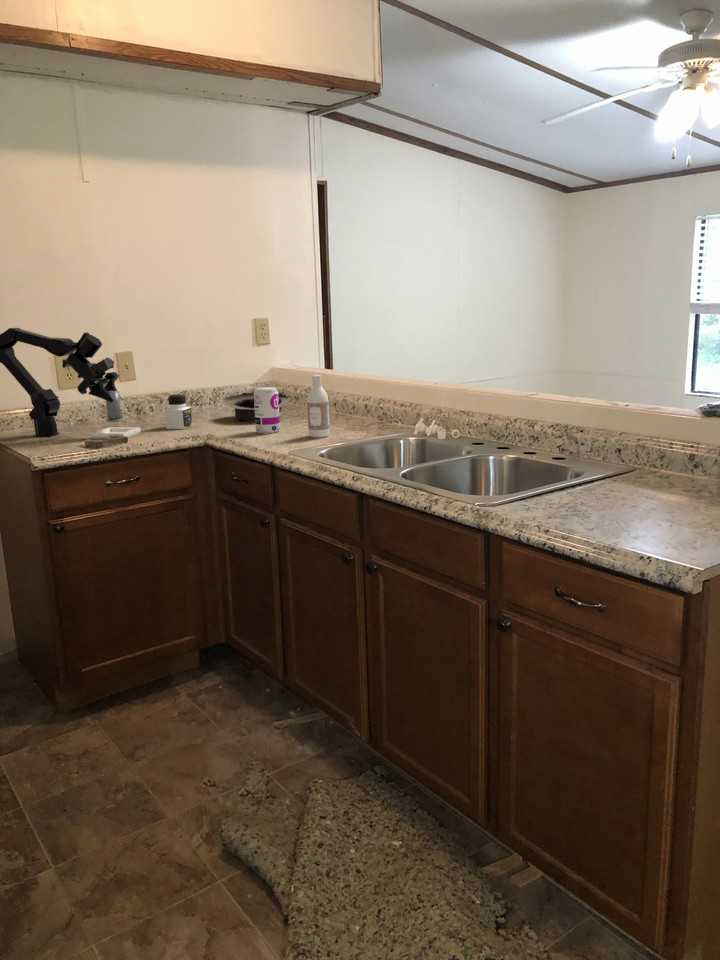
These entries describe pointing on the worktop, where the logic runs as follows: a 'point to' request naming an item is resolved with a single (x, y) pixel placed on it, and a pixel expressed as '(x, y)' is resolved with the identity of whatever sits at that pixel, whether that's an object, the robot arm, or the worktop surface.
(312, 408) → the bath foam
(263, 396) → the supplement can
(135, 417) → the worktop surface
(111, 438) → the socket
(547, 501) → the worktop surface
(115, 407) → the grey rounded upright piece
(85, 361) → the robot arm
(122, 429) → the dish
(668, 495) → the worktop surface
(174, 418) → the medicine bottle
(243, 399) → the stone bowl
